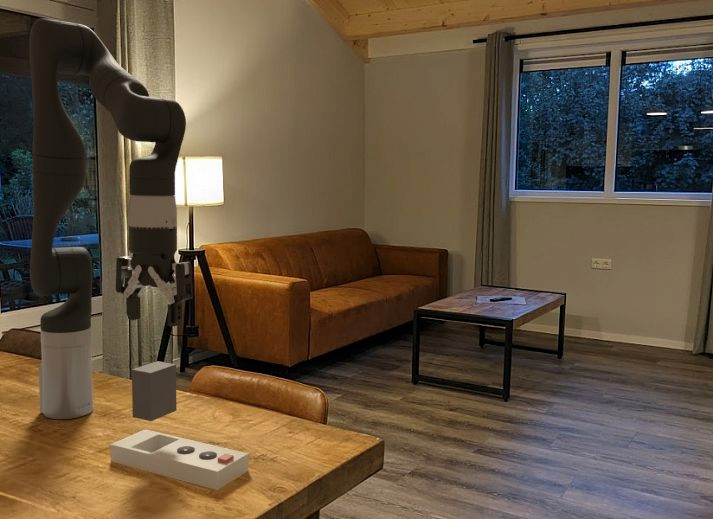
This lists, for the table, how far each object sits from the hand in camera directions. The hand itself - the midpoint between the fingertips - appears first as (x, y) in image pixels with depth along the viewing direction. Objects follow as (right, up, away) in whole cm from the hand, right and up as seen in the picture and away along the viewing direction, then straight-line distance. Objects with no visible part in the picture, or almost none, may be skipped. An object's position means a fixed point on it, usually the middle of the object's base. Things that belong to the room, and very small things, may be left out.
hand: (153, 322), depth 113 cm
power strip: (+4, -24, 0) cm, 24 cm away
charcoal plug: (0, -15, +2) cm, 15 cm away
